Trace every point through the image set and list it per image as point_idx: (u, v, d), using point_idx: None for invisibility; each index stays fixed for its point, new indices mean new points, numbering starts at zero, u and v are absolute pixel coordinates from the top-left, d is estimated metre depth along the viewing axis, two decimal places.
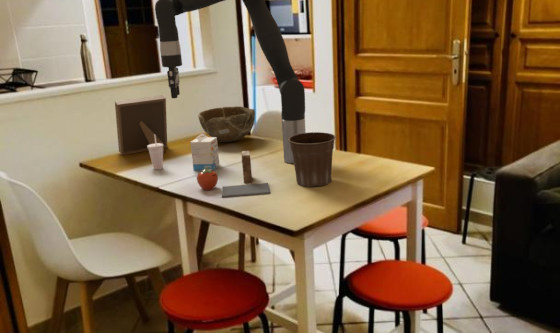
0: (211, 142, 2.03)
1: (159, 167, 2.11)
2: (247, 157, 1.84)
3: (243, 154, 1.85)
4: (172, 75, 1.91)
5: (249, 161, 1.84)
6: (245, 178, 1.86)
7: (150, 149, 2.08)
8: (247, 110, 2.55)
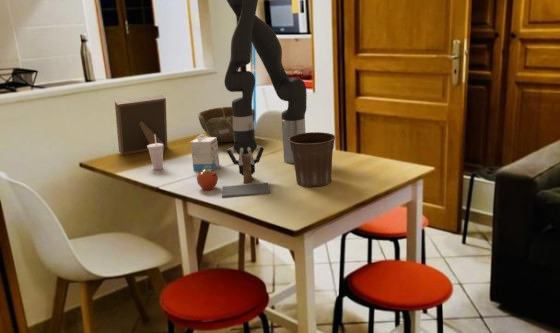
0: (211, 142, 2.03)
1: (159, 167, 2.11)
2: (247, 157, 1.84)
3: (243, 154, 1.85)
4: None
5: (249, 161, 1.84)
6: (245, 178, 1.86)
7: (150, 149, 2.08)
8: None
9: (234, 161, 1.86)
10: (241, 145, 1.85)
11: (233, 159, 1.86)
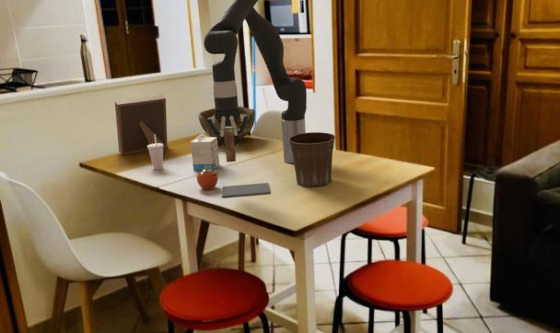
0: (211, 142, 2.03)
1: (159, 167, 2.11)
2: (230, 134, 1.67)
3: (226, 130, 1.68)
4: None
5: (232, 138, 1.67)
6: (228, 157, 1.69)
7: (150, 149, 2.08)
8: (247, 110, 2.55)
9: (215, 131, 1.70)
10: (223, 114, 1.68)
11: (214, 129, 1.69)
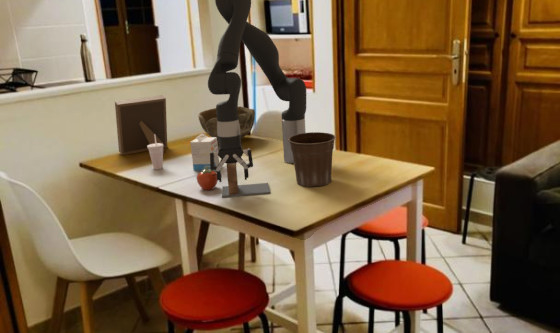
0: (211, 142, 2.03)
1: (159, 167, 2.11)
2: (232, 167, 1.70)
3: (228, 164, 1.72)
4: None
5: (234, 171, 1.71)
6: (230, 189, 1.72)
7: (150, 149, 2.08)
8: (247, 110, 2.55)
9: (212, 166, 1.73)
10: (226, 152, 1.72)
11: (212, 164, 1.72)
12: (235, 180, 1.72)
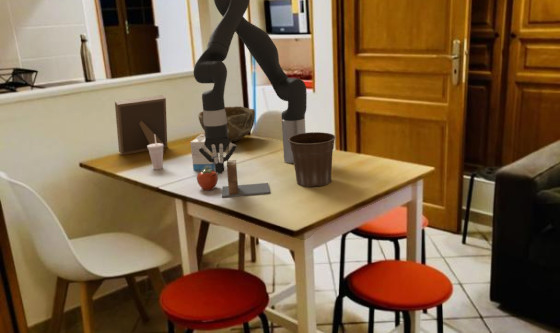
0: None
1: (159, 167, 2.11)
2: (233, 167, 1.70)
3: (228, 164, 1.72)
4: None
5: (235, 171, 1.71)
6: (230, 189, 1.72)
7: (150, 149, 2.08)
8: (247, 110, 2.55)
9: (209, 159, 1.72)
10: (213, 141, 1.71)
11: (208, 157, 1.72)
12: (235, 180, 1.72)
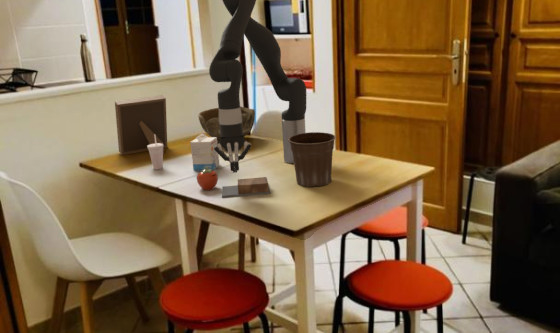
0: (211, 142, 2.03)
1: (159, 167, 2.11)
2: (266, 188, 1.73)
3: (267, 183, 1.75)
4: None
5: (261, 191, 1.73)
6: (242, 187, 1.72)
7: (150, 149, 2.08)
8: (247, 110, 2.55)
9: (224, 157, 1.72)
10: (228, 140, 1.71)
11: (223, 156, 1.72)
12: (252, 191, 1.73)
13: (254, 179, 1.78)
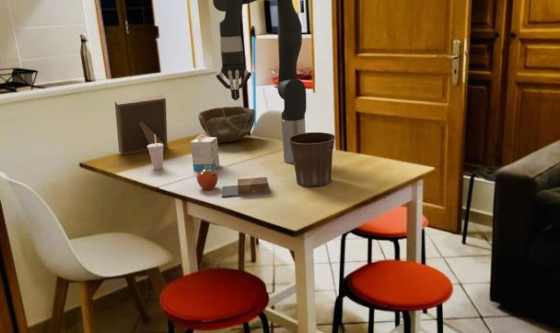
0: (211, 142, 2.03)
1: (159, 167, 2.11)
2: (266, 188, 1.73)
3: (267, 183, 1.75)
4: None
5: (261, 191, 1.73)
6: (242, 187, 1.72)
7: (150, 149, 2.08)
8: (247, 110, 2.55)
9: (226, 85, 1.82)
10: (229, 68, 1.80)
11: (224, 83, 1.81)
12: (252, 191, 1.73)
13: (254, 179, 1.78)
